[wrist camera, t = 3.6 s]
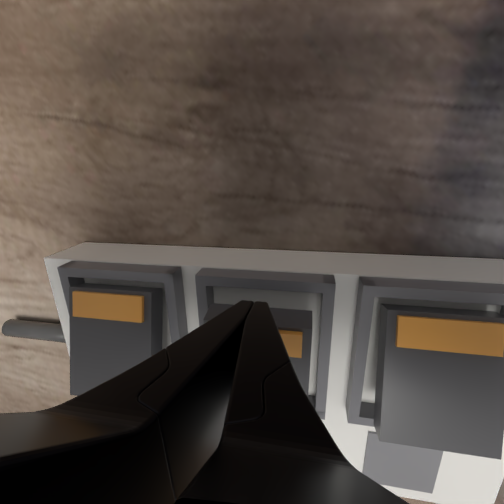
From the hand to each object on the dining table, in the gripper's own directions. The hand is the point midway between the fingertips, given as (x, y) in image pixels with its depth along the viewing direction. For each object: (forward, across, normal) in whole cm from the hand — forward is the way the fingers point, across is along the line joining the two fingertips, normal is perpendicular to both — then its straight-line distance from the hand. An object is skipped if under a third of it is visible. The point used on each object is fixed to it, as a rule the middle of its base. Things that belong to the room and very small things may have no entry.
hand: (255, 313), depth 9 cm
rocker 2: (+1, -6, +2) cm, 7 cm away
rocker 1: (+1, +6, +2) cm, 7 cm away
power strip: (+4, +3, +5) cm, 7 cm away
